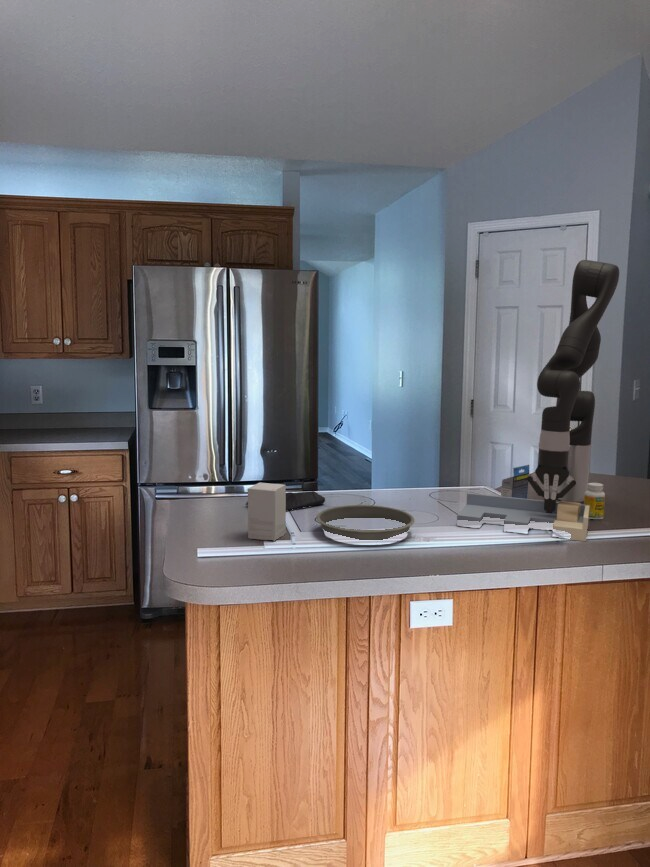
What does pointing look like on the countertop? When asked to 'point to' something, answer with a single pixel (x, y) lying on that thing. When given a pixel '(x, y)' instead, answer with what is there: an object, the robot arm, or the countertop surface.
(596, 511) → the supplement bottle
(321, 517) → the cake pan
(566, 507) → the maple block
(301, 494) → the dark slate chunk
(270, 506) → the supplement box
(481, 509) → the tray
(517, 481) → the label tape box
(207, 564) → the countertop surface
